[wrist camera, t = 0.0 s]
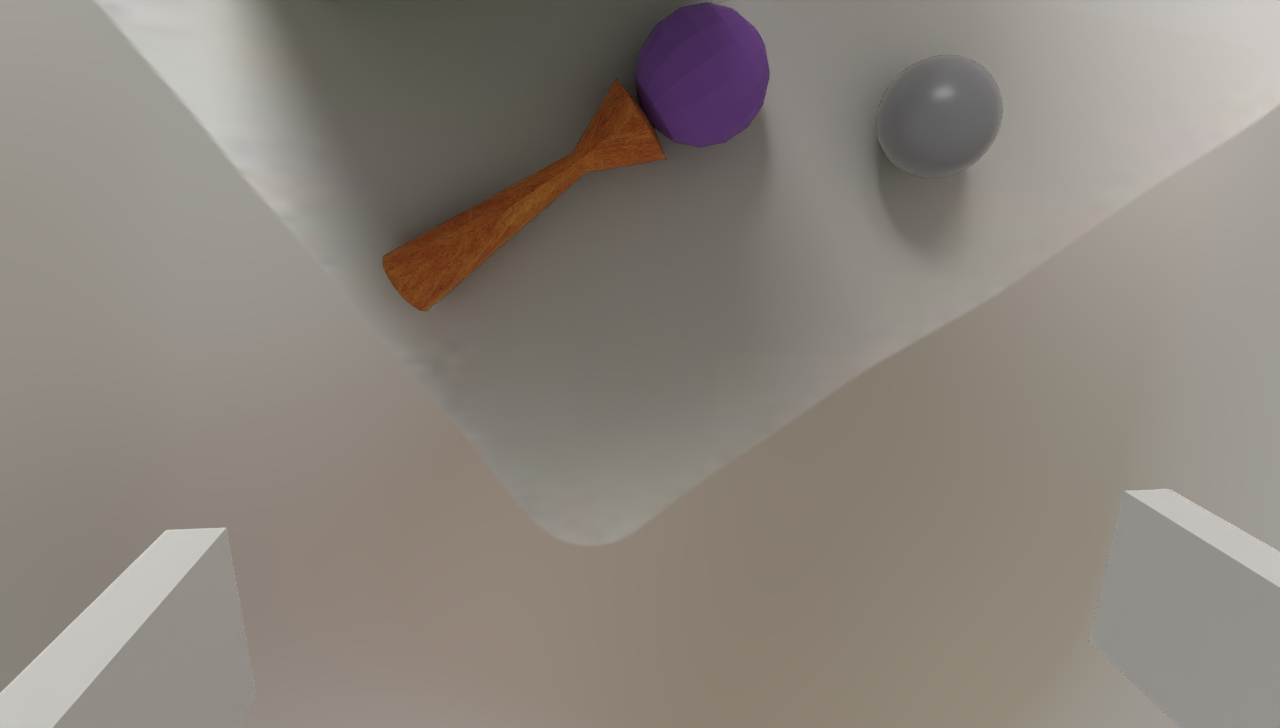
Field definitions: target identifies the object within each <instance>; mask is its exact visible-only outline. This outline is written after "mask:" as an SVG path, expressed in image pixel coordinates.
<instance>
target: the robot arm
mask: <svg viewBox="0 0 1280 728" xmlns="http://www.w3.org/2000/svg"><path fill="white" fill-rule="evenodd" d="M1089 642H1090V643H1091V644H1092V645H1093V646H1094V647H1095V648H1096V649H1098V650H1099V651H1100V652H1101V653H1102V654H1103V655H1104V656H1105V657H1106V658H1107V659H1108V660H1109V661H1110V662H1111V663H1112V664H1113V665H1114V666H1116V668H1118V669H1119V670H1120V671H1121V672H1122V673H1123V674H1124V675H1125V676H1126V677H1127V678H1128V679H1130V681H1131V682H1132V683H1133V684H1135V685H1136V686H1137V687H1138V688H1139V689H1140V690H1141V691H1142V692H1143V693H1144V694H1145V695H1146V696H1147V697H1148V698H1149V699H1150V700H1151V701H1152V702H1154V703H1155V704H1156V705H1157V706H1158V707H1159V708H1160V709H1161V710H1162V711H1163V712H1164V713H1165V714H1166V715H1167V716H1168V717H1169V718H1170V719H1171V720H1172V721H1174V722H1175V723H1176V724H1177V725H1178V726H1179V727H1180V728H1280V552H1279V551H1277V550H1276V549H1274V548H1272V547H1271V546H1269V545H1267V544H1265V543H1264V542H1262V541H1260V540H1258V539H1256V538H1255V537H1253V536H1251V535H1249V534H1248V533H1246V532H1244V531H1242V530H1241V529H1239V528H1237V527H1235V526H1234V525H1232V524H1230V523H1228V522H1227V521H1225V520H1223V519H1221V518H1220V517H1218V516H1216V515H1214V514H1213V513H1211V512H1209V511H1207V510H1206V509H1204V508H1202V507H1200V506H1199V505H1197V504H1195V503H1193V502H1192V501H1190V500H1188V499H1186V498H1185V497H1183V496H1181V495H1179V494H1178V493H1176V492H1174V491H1172V490H1171V489H1155V490H1154V489H1153V490H1131V491H1130V490H1128V491H1124V492H1123V496H1122V501H1121V505H1120V509H1119V513H1118V517H1117V522H1116V526H1115V530H1114V535H1113V539H1112V543H1111V547H1110V552H1109V556H1108V560H1107V565H1106V569H1105V573H1104V578H1103V582H1102V586H1101V591H1100V595H1099V599H1098V603H1097V607H1096V612H1095V616H1094V621H1093V624H1092V629H1091V633H1090V637H1089ZM255 696H256V690H255V684H254V679H253V673H252V667H251V663H250V656H249V651H248V645H247V640H246V634H245V629H244V623H243V617H242V612H241V606H240V600H239V595H238V590H237V584H236V578H235V573H234V568H233V561H232V556H231V550H230V545H229V539H228V534H227V528H205V529H180V530H166V531H165V532H164V533H163V534H162V535H161V536H160V537H159V538H158V539H157V540H156V541H155V542H154V543H153V544H152V545H151V546H150V547H148V549H147V550H145V551H144V552H143V553H142V554H141V555H140V556H139V557H138V559H136V560H135V561H134V562H133V563H132V564H131V565H130V566H129V567H128V568H127V569H126V570H125V571H124V572H123V573H122V574H121V575H120V576H119V577H118V578H117V579H116V580H115V581H114V582H113V583H112V584H111V585H110V586H109V587H108V588H107V589H106V590H105V591H104V592H103V593H102V594H101V595H100V596H99V597H98V598H97V599H96V600H94V602H93V603H92V604H90V605H89V606H88V607H87V608H86V609H85V610H84V611H83V612H82V613H81V614H80V615H79V616H78V617H77V618H76V619H75V620H74V621H73V622H72V623H71V624H70V625H69V626H68V627H67V628H66V629H65V630H64V631H63V632H62V633H61V634H60V635H59V636H58V637H57V638H56V639H55V640H54V641H53V642H52V643H51V644H50V645H49V646H48V647H47V648H46V649H45V650H44V651H43V652H41V653H40V654H39V655H38V656H37V657H36V658H35V659H34V660H33V661H32V662H31V663H30V664H29V665H28V666H27V667H26V668H25V669H24V670H23V671H22V672H21V673H20V674H19V675H18V676H17V677H16V678H15V679H14V680H13V681H12V682H11V683H10V684H9V685H8V686H7V687H6V688H5V689H4V690H3V691H2V692H1V693H0V728H238V727H239V725H240V723H241V721H242V720H243V718H244V716H245V714H246V712H247V710H248V708H249V707H250V705H251V703H252V701H253V700H254V698H255Z"/></svg>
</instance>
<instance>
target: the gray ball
mask: <svg viewBox="0 0 1280 728" xmlns="http://www.w3.org/2000/svg"><path fill="white" fill-rule="evenodd" d="M1001 119H1002V99H1001V94H1000V91H999V88H998V86H997V84H996V82H995V80H994V79H993V77H992V76H991V75H990V74H989V72H988V71H987V70H986V69H985V68H983V67H982V66H981V65H979V64H978V63H976V62H974V61H972V60H970V59H968V58H964V57H960V56H954V55H940V56H934V57H930V58H927V59H924V60H921V61H919V62H917V63H915V64H913V65H911V66H910V67H908V68H907V69H905V70H904V71H903V72H902V73H901V74H899V75H898V76H897V77H896V78H895V79H894V81H893V82H892V83H891V84H890V86H889V87H888V89H887V90H886V92H885V94H884V96H883V98H882V100H881V102H880V105H879V109H878V114H877V134H878V139H879V142H880V145H881V147H882V149H883V151H884V153H885V154H886V156H887V157H888V158H889V160H890V161H891V162H892V163H893V164H894V165H896V166H897V167H898V168H900V169H901V170H903V171H905V172H907V173H909V174H912V175H915V176H919V177H925V178H937V177H945V176H949V175H952V174H955V173H958V172H960V171H962V170H964V169H966V168H967V167H969V166H970V165H972V164H974V163H975V162H976V161H977V160H978V159H980V158H981V157H982V156H983V154H984V153H985V152H986V151H987V150H988V148H989V147H990V146H991V144H992V143H993V141H994V139H995V137H996V135H997V133H998V130H999V127H1000V124H1001Z"/></svg>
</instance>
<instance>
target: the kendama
mask: <svg viewBox="0 0 1280 728" xmlns="http://www.w3.org/2000/svg"><path fill="white" fill-rule="evenodd" d="M768 81H769V66H768V61H767V55H766V49H765V45H764V42H763V40H762V38H761V36H760V34H759V33H758V31H757V30H756V29H755V28H754V27H753V26H752V25H751V24H750V23H749V22H748V21H746V20H745V19H744V18H743V17H742V16H741V15H739V14H738V13H737V12H736V11H734V10H733V9H731V8H727V7H723V6H719V5H715V4H711V3H707V2H705V3H701V4H696V5H691V6H686V7H681V8H679V9H677V10H676V11H674V12H673V13H672V14H670V15H669V16H667V17H666V18H665V19H663V20H662V21H660V22H659V23H658V24H656V26H655V27H654V29H653V31H652V32H651V34H650V35H649V37H648V38H647V40H646V42H645V43H644V45H643V46H642V48H641V50H640V52H639V57H638V63H637V68H636V73H635V83H636V89H637V94H638V100H639V103H638V102H637V101H636V100H635V99H634V98H633V97H632V96H631V94H630V93H629V92H628V91H627V90H626V89H625V88H624V87H623V85H622V84H621V83H620V82H619V81H618V80H617V79H616V80H615V81H614V83H613V85H612V86H611V88H610V90H609V92H608V93H607V95H606V97H605V98H604V100H603V102H602V103H601V105H600V107H599V109H598V110H597V112H596V114H595V115H594V117H593V119H592V120H591V122H590V124H589V126H588V127H587V129H586V131H585V132H584V134H583V136H582V137H581V139H580V141H579V143H578V144H577V146H576V148H575V149H574V151H573V153H571V154H569V155H567V156H566V157H564V158H562V159H560V160H558V161H556V162H555V163H553V164H551V165H549V166H547V167H545V168H544V169H542V170H540V171H538V172H536V173H534V174H533V175H531V176H529V177H527V178H525V179H523V180H521V181H520V182H518V183H516V184H514V185H512V186H510V187H509V188H507V189H505V190H503V191H501V192H499V193H498V194H496V195H494V196H492V197H490V198H488V199H487V200H485V201H483V202H481V203H479V204H477V205H476V206H474V207H472V208H470V209H468V210H466V211H464V212H463V213H461V214H459V215H457V216H455V217H453V218H452V219H450V220H448V221H446V222H444V223H442V224H441V225H439V226H437V227H435V228H433V229H431V230H430V231H428V232H426V233H424V234H422V235H420V236H419V237H417V238H415V239H413V240H411V241H409V242H407V243H406V244H404V245H402V246H400V247H398V248H396V249H395V250H393V251H391V252H389V253H387V254H386V255H384V256H383V266H384V269H385V272H386V274H387V276H388V278H389V279H390V281H391V283H392V284H393V286H394V287H395V288H396V290H397V291H398V292H399V293H400V294H401V296H402V297H403V298H404V299H405V300H406V301H408V302H409V303H410V304H411V305H412V306H414V307H415V308H417V309H419V310H420V311H428V310H429V309H430V308H431V307H432V306H433V305H434V304H436V303H437V302H438V301H439V300H440V299H441V298H442V297H444V296H445V295H446V294H447V293H448V292H449V291H450V290H452V289H453V288H454V287H455V286H456V285H457V284H459V283H460V282H461V281H462V280H463V279H464V278H465V277H467V276H468V275H469V274H470V273H471V272H472V271H473V270H475V269H476V268H477V267H478V266H479V265H480V264H481V263H483V262H484V261H485V260H486V259H487V258H488V257H490V256H491V255H492V254H493V253H494V252H495V251H496V250H498V249H499V248H500V247H501V246H502V245H503V244H504V243H506V242H507V241H508V240H509V239H510V238H511V237H512V236H514V235H515V234H516V233H517V232H518V231H519V230H520V229H522V228H523V227H524V226H525V225H526V224H527V223H529V222H530V221H531V220H532V219H533V218H534V217H535V216H537V215H538V214H539V213H540V212H541V211H542V210H543V209H545V208H546V207H547V206H548V205H549V204H550V203H551V202H553V201H554V200H555V199H556V198H557V197H558V196H559V195H561V194H562V193H563V192H564V191H565V190H566V189H568V188H569V187H570V186H571V185H572V184H573V183H574V182H576V181H577V180H578V179H579V178H580V177H581V176H582V175H584V174H585V173H587V172H593V171H599V170H605V169H611V168H617V167H623V166H629V165H635V164H641V163H647V162H653V161H659V160H665V159H666V157H665V154H664V152H663V149H662V147H661V144H660V142H659V140H658V137H657V135H656V132H655V130H654V128H655V129H657V130H658V131H660V132H661V133H662V134H664V135H665V136H667V137H668V138H669V139H671V140H672V141H674V142H677V143H682V144H686V145H691V146H696V147H704V146H709V145H714V144H719V143H724V142H726V141H728V140H729V139H731V138H732V137H734V136H735V135H737V134H738V133H740V132H741V131H743V130H744V129H746V128H747V127H748V126H749V124H750V123H751V121H752V120H753V118H754V117H755V116H756V114H757V113H758V111H759V110H760V108H761V107H762V105H763V103H764V98H765V94H766V89H767V85H768Z"/></svg>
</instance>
